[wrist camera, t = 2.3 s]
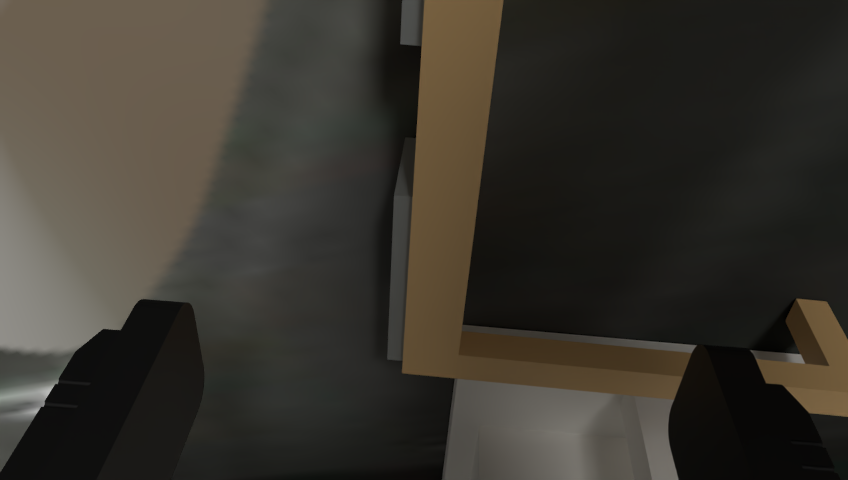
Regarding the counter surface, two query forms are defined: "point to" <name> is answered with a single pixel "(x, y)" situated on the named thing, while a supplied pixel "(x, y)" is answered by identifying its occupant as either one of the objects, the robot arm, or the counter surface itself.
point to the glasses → (453, 238)
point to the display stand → (561, 426)
